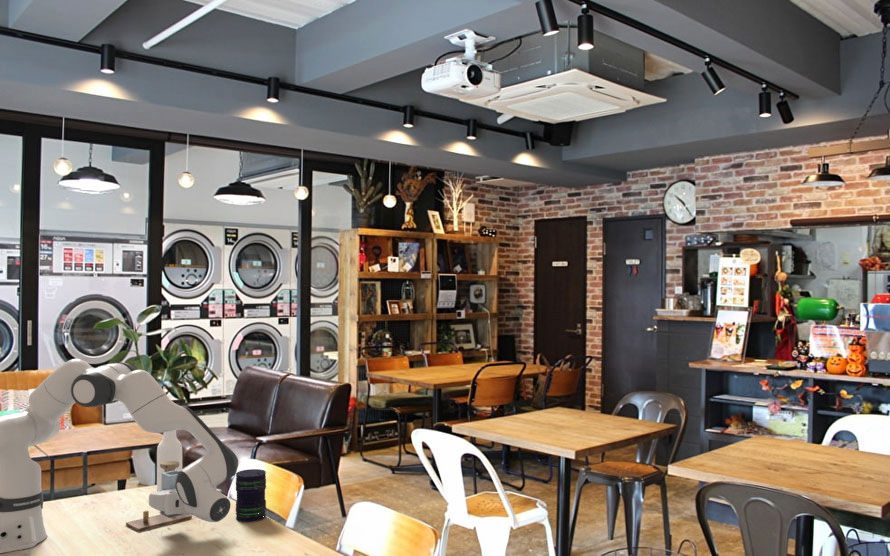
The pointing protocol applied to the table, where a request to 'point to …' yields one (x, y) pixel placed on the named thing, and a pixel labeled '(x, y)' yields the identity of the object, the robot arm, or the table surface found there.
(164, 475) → the sleeve
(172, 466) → the handle
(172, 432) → the alcohol
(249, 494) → the black cylinder
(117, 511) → the table surface
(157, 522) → the pin board
